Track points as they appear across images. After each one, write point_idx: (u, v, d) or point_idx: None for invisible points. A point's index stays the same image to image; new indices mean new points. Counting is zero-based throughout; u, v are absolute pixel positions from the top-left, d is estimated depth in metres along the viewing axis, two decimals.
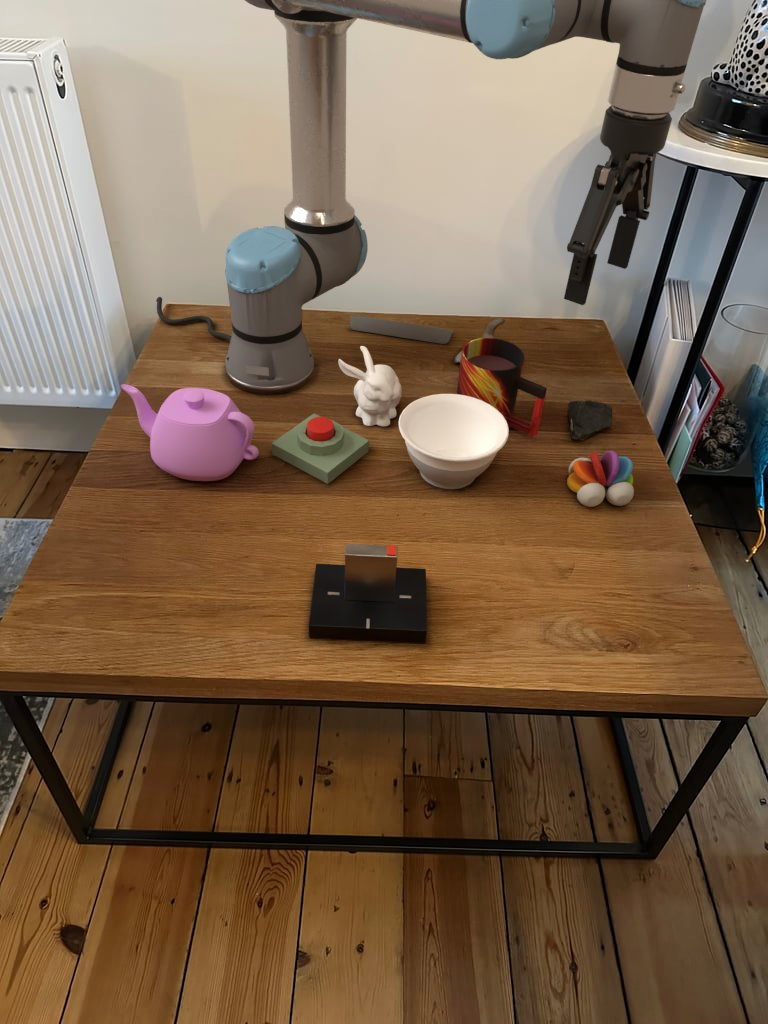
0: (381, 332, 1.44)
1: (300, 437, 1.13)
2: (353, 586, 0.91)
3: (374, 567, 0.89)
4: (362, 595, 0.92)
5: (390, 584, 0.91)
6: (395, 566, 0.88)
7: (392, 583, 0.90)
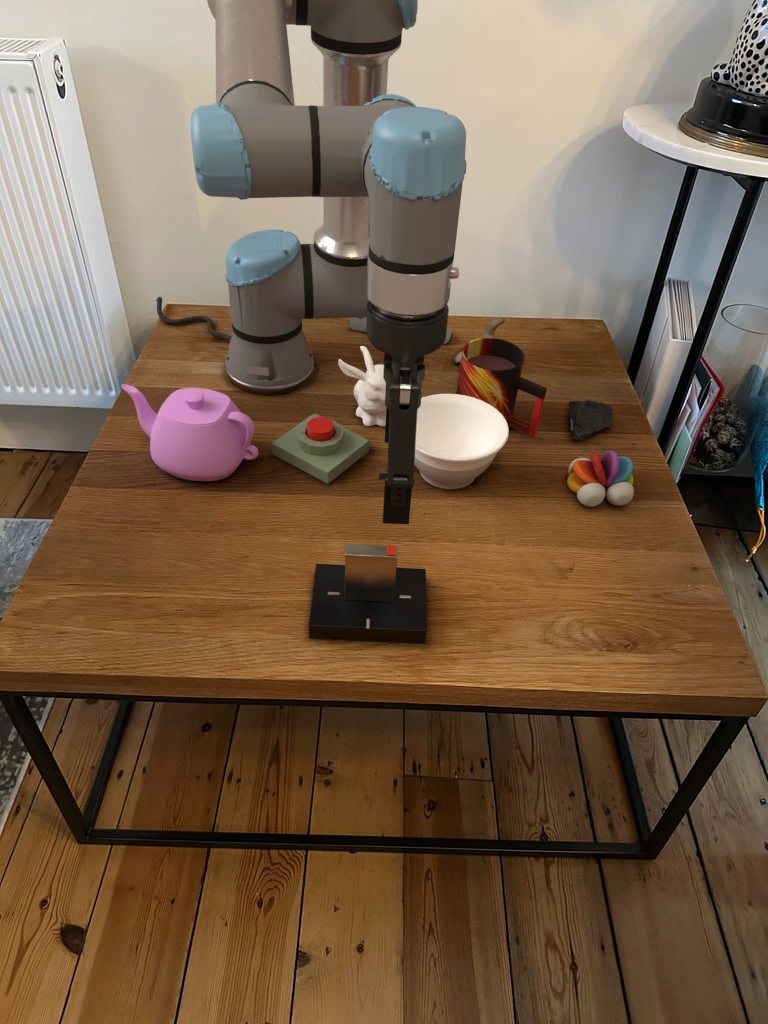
0: None
1: (300, 437, 1.13)
2: (353, 586, 0.91)
3: (374, 567, 0.89)
4: (362, 595, 0.92)
5: (390, 584, 0.91)
6: (395, 566, 0.88)
7: (392, 583, 0.90)
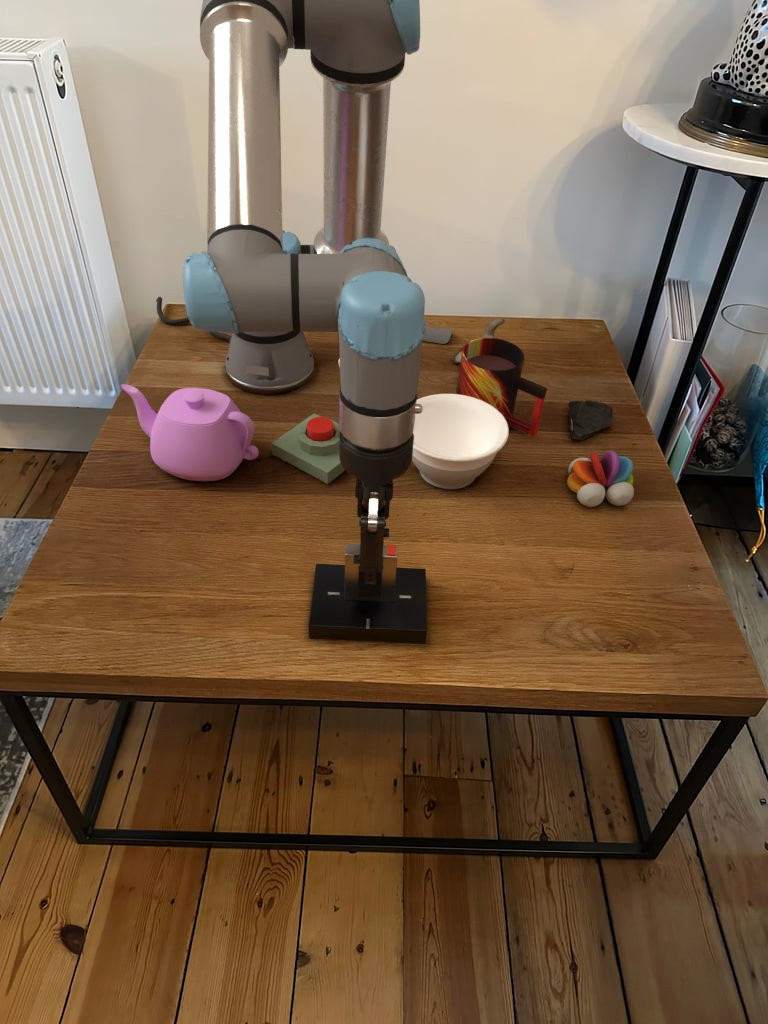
0: None
1: (300, 437, 1.13)
2: (353, 586, 0.91)
3: None
4: None
5: (390, 584, 0.91)
6: (395, 566, 0.88)
7: (392, 583, 0.90)
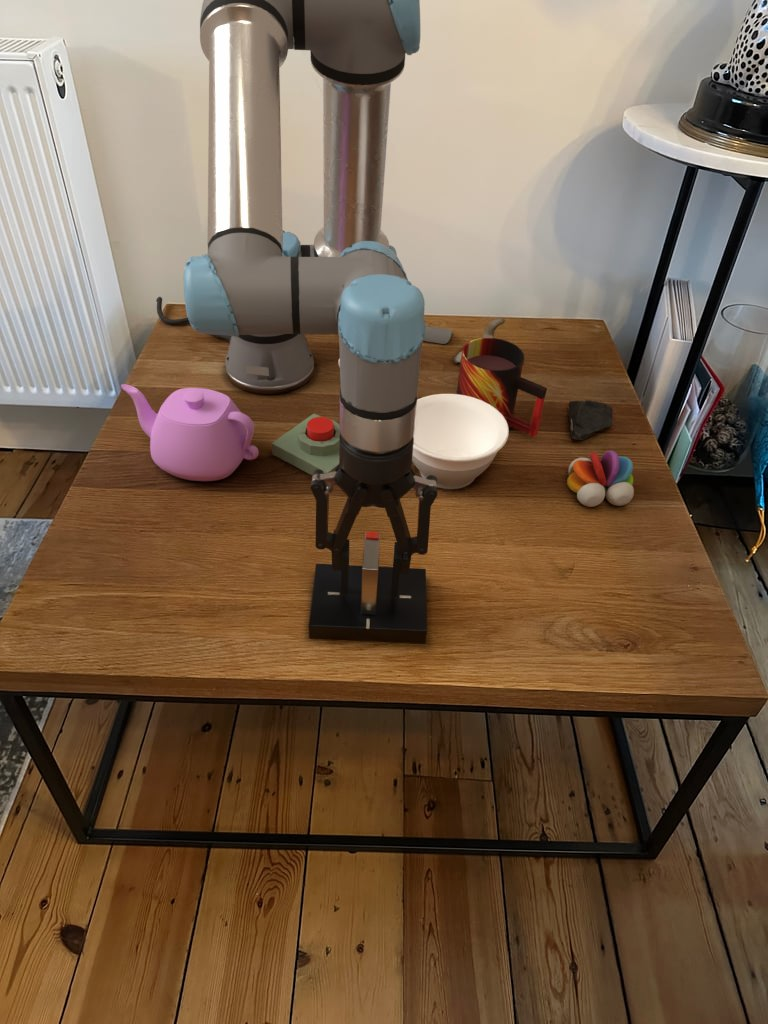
0: None
1: (300, 437, 1.13)
2: None
3: None
4: None
5: None
6: None
7: None
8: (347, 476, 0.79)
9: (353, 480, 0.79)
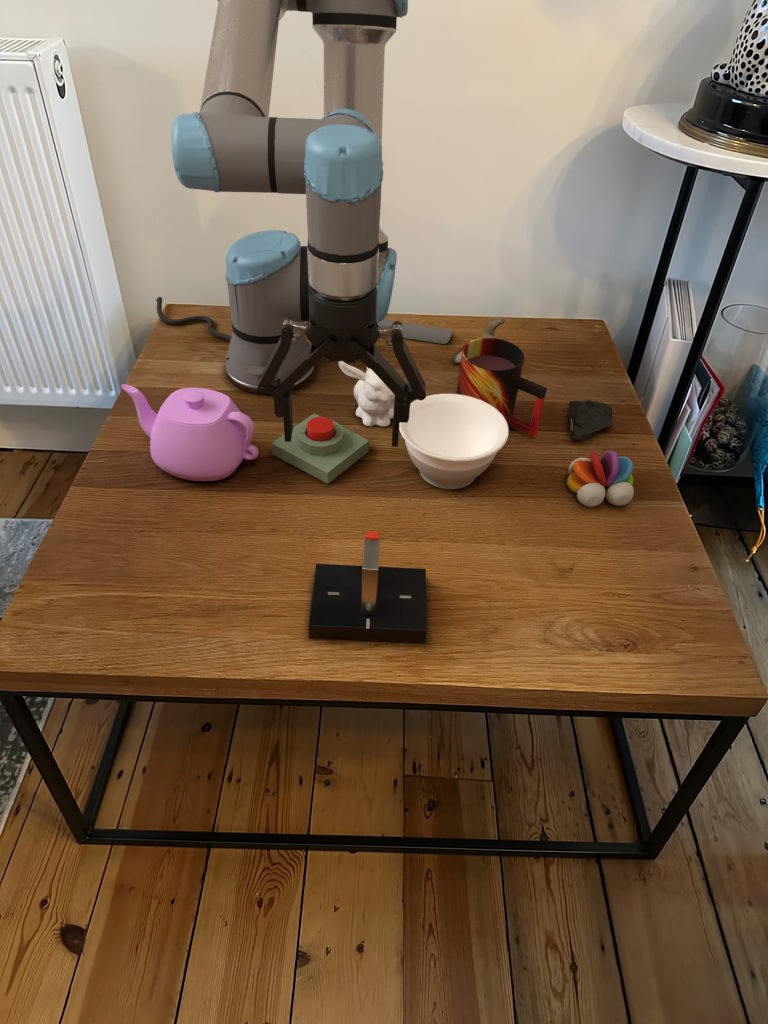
0: None
1: (300, 437, 1.13)
2: None
3: None
4: None
5: None
6: None
7: None
8: (317, 329, 0.86)
9: (322, 333, 0.86)
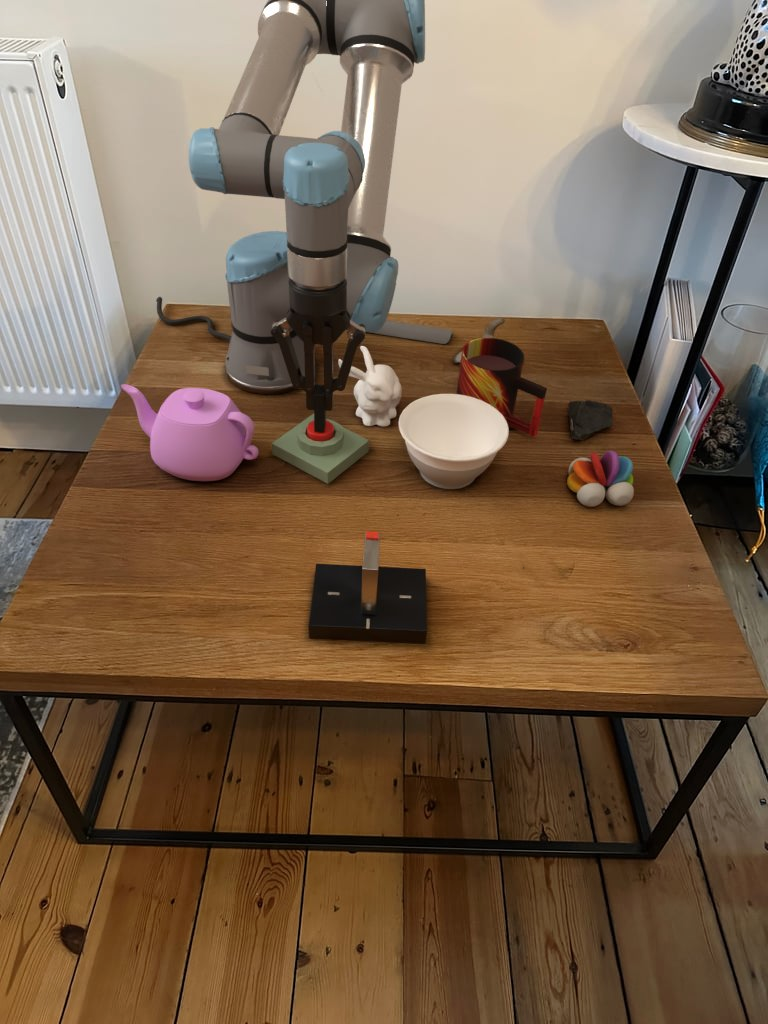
0: (381, 332, 1.44)
1: (300, 437, 1.13)
2: None
3: None
4: None
5: None
6: None
7: None
8: (296, 316, 1.00)
9: (301, 319, 1.01)
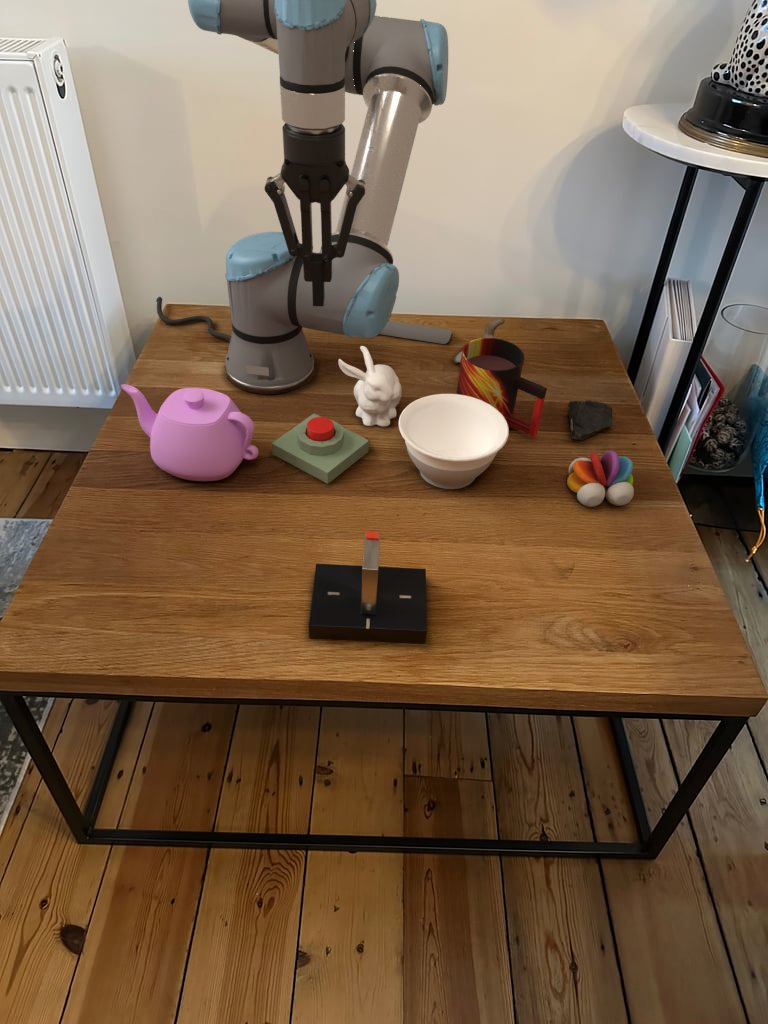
0: (381, 332, 1.44)
1: (300, 437, 1.13)
2: None
3: None
4: None
5: None
6: None
7: None
8: (291, 168, 0.94)
9: (296, 173, 0.94)
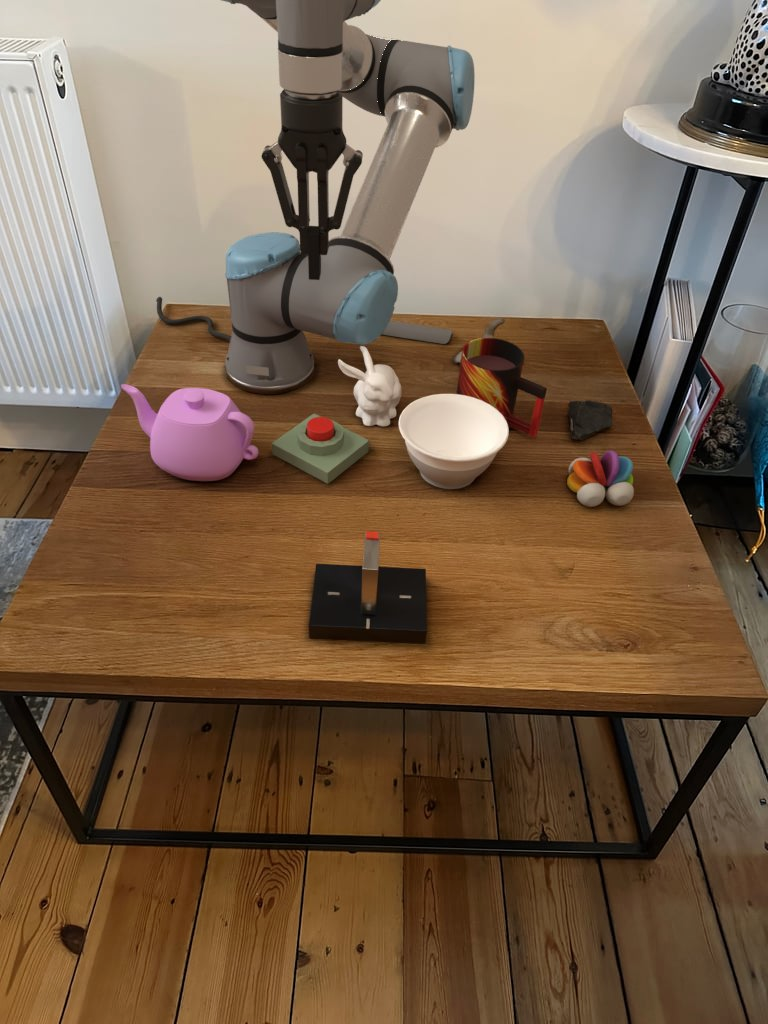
0: None
1: (300, 437, 1.13)
2: None
3: None
4: None
5: None
6: None
7: None
8: (288, 136, 0.94)
9: (293, 140, 0.94)
